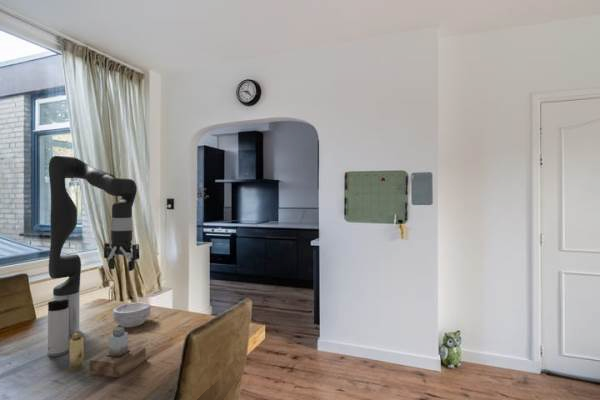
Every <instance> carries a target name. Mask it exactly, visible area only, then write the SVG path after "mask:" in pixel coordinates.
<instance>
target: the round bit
mask: <svg viewBox="0 0 600 400" xmlns="http://www.w3.org/2000/svg"><path fill="white" fill-rule="evenodd" d="M71 336H72V337H71V338H70V339H69V358H68V359H69V364H68V365H69V372H77V371H81V370H83V369H84V367H85V363H84V362H85V360H84V358H85V357H84V356H85V353H84V352H85V351H84V349H85V346H84V345H85V340H84V339H85V337H84V336H82V332H81V331H79V332H75V333H73V334H72V335H71Z"/></svg>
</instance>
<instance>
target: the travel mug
mask: <svg viewBox="0 0 600 400" xmlns="http://www.w3.org/2000/svg"><path fill="white" fill-rule="evenodd" d="M68 308H69V307H68V300H67V299H65V300H60V301H57V300H55V301H53V300H51V301H48V302H47V356H48V357H54V358H55V357H60V356H64V355H65V354H66V353H68V352H69V351H70V339H69V337H70V336H69V309H68Z"/></svg>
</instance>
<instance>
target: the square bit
mask: <svg viewBox="0 0 600 400" xmlns="http://www.w3.org/2000/svg"><path fill="white" fill-rule="evenodd" d="M112 331H113V332H112V333H113V334H111V335H109V336H108V338H109V339H108V340H109V342H108V347H109V348H108V349H109V357H115V358H121V357H123V356H124V355H126V354H127V353H128V346H129V332H128V331H127V332H126V331H125V327H121V326H118V327H116V328H113V330H112Z"/></svg>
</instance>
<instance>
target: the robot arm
mask: <svg viewBox="0 0 600 400" xmlns="http://www.w3.org/2000/svg"><path fill="white" fill-rule="evenodd" d="M48 176H49V186H50V187H49V188H50V216H49V217H50V220H49V221H50V222H49V223H50V243H49V244H50V246H49V257H48V274H49V277H50V279H53V280H57V279H64V278H67V279H66V280H65V281H63V282H62V283H59V284H57V285H56V286H55V287H54V288H53V289H52V301H55V300H57V301H60V300H65V299H67V300H68V307H69V308H68V309H69V337H70V336H72V334H73V333H75V332H80V311H81V310H80V300H81V298H80V296H81V295H80V287H81V271H82V261H81V257H80V256H79V255H78V254H65V255H62V250H63V247H64V245H65V243H66V241H67V240H68V239H69V237H70V236H71V235H72V233H73V232H74V231H75V229H76V227H77V225H78V208H77V206H76V204H75V202H74V201H73V199H72V198H71V196H70V195H69V193H68V191H67V187H66V179H82V180H86V181H87V183H88V184H89V185H91V186H93V187H95V188H97V189H100V190H103V191H104V192H105V193H107V194H108V195H109V196H114V197H120V200H119V201H117V202H115V203H112V205H111V221H110V222H111V223H110V241H111V242H106V243H104V246H103V247H104V248H103V259H107V260H108V266H107V267H108V269H109V270H114V269H115V268H116V257H117V256H118V255H120V256H124V257H125V258H127V260H128V261H127V262H128V263H127V267H128V268H127V271H129V272H132V271H134V269H135V265H136V264H135V261H137V260H139V259H140V244H138V243H136V244H132V242H133V241H132V240H133V206H134V203H135V199H136V196H137V195H136V194H137V192H138V191H137V189H138V187H137V184H136V182H135V181H134V180H133V179H131V178H122V177H121V178H118V177H116V176H115V175H113V174H112V173H109V172H106V171H104V170H100V169H99V168H98V169H97V168H95V167H93V166H92V165H89V164H88V163H86V162H84V161H83V160H81V159H79V158H77V157H76V156H67V155H66V156H65V155H58V154H57V155H53V156H52V157H51V158H50V160H49V162H48Z"/></svg>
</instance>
